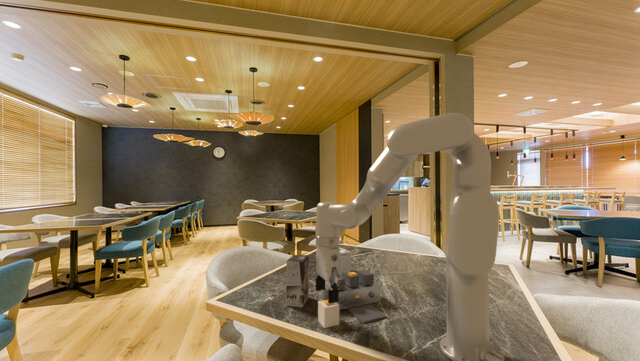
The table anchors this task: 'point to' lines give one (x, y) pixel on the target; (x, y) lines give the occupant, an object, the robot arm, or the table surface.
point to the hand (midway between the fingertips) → (326, 295)
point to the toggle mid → (351, 278)
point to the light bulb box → (345, 260)
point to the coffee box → (297, 280)
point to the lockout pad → (367, 313)
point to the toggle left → (340, 283)
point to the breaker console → (355, 295)
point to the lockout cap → (328, 313)
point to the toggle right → (365, 277)
